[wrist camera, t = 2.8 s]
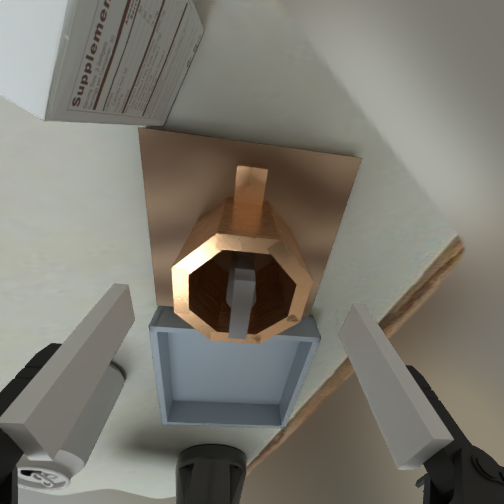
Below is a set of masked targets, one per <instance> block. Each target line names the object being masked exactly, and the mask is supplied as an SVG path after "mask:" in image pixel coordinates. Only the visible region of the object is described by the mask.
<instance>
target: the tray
mask: <svg viewBox="0 0 504 504" xmlns="http://www.w3.org/2000/svg"><path fill="white" fill-rule="evenodd" d="M149 333H150V340H151V347H152V354H153V361H154V369H155V376H156V383H157V390H158V398H159V405H160V412H161V419H162V424H168V425H197V426H227V427H256V428H285V427H286V425H287V422H288V420H289V417H290V415H291V412H292V410H293V407H294V405H295V402H296V400H297V397H298V395H299V392H300V390H301V387H302V385H303V382H304V380H305V377H306V375H307V372H308V370H309V367H310V365H311V362H312V360H313V357H314V355H315V352H316V350H317V347H318V345H319V342H320V340H321V336H320V333H319V331H318V328H317V325H316V322H315V320H314V317H313V316H309V317H303V316H302V318H301V321H300V322H299V323H297V324H295V325H294V326H292V327H290V328H288V329H286V330H284V331H282V332H281V333H279V334H277V335H275V336H273V337H271V338H269V339H268V340H266V341H264V342H262V343H260V344H252V343H237V342H222V341H211V340H209V339H208V338H207V337H205V336H204V335H203V334H202V333H200V332H199V331H198V330H196V329H195V328H194V327H192V326H191V325H190V324H188V323H187V322H186V321H185V320H183V319H182V318H181V317H179V316H178V315H177V314H175V313H174V307H172V306H158V308H157V310H156V312H155V314H154V316H153V318H152V320H151V322H150V324H149Z"/></svg>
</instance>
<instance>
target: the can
mask: <svg viewBox="0 0 504 504" xmlns="http://www.w3.org/2000/svg"><path fill="white" fill-rule="evenodd" d="M123 386H124V378H123V376H122V374H121V371H120V370H119V369H118V368H117V367H116V366H114V365H113V364H109V365H108V367H107V369H106V370H105V372H104V374H103V376H102V377H101V379H100V381H99V382H98V384H97V386H96V388H95V389H94V391H93V393H92V394H91V396H90V398H89V400H88V401H87V403H86V405H85V406H84V408H83V410H82V412H81V413H80V415H79V417H78V418H77V420H76V422H75V424H74V425H73V427H72V429H71V430H70V432H69V434H68V436H67V437H66V439H65V441H64V442H63V444H62V446H61V448H60V449H59V451H58V453H57V454H56V456H55V458H54V460H53V461H38V460H29V459H28V458H27V457H26V455H25V454H23V455H22V457H21V458H20V460H19V461H18V463H17V464H16V466H17V469H18V486H19V487H23V488H27V489H32V490H42V491H53V490H60V489H63V488H65V487H67V486H68V485H69V484H70V479H71V478H72V477H73V476H74V475H76V474H77V473H78V472H80V471H81V470H82V469H83V468H84V467H85V465H86V463H87V461H88V458H89V456H90V454H91V452H92V450H93V448H94V446H95V444H96V442H97V440H98V438H99V436H100V434H101V431H102V429H103V427H104V425H105V423H106V421H107V419H108V417H109V415H110V413H111V411H112V409H113V407H114V404H115V402H116V400H117V398H118V396H119V394H120V392H121V390H122V388H123Z"/></svg>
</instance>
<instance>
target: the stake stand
mask: <svg viewBox="0 0 504 504" xmlns="http://www.w3.org/2000/svg"><path fill="white" fill-rule="evenodd" d="M138 132H139V141H140V151H141V160H142V169H143V179H144V188H145V198H146V207H147V216H148V226H149V235H150V245H151V254H152V263H153V273H154V282H155V292H156V301H157V305H159V306H172V307H174V299H173V281H172V266H173V264H174V262H175V260H176V259H177V257H178V255H179V253H180V251H181V249H182V248H183V246H184V244H185V242H186V240H187V238H188V237H189V235H190V233H191V231H192V229H193V227H194V226H195V224H196V222H197V221H198V220H199V219H200V218H202V217H203V216H204V215H205V214H207V213H208V212H209V211H210V210H212V209H213V208H214V207H215V206H216V205H218V204H219V203H220V202H221V201H223V200H224V199H225V198H226V197H234V195H235V184H236V173H237V164H238V163H242V164H250V165H257V166H265V167H267V169H268V172H267V179H266V186H265V192H264V199H263V201H269V203H270V204H271V205H272V207H273V208H274V209H275V211H276V212H277V213H278V215H279V216H280V217H281V219H282V220H283V221H284V223H285V224H286V225H287V227H288V228H289V229H290V231H291V232H292V234H293V236H294V238H295V241H296V243H297V245H298V247H299V250H300V252H301V254H302V256H303V258H304V261H305V263H306V265H307V267H308V270H309V272H310V274H311V276H312V278H313V283H312V286H311V289H310V292H309V295H308V299H307V302H306V305H305V308H304V311H303V314H302V316H303V317H309V314H310V311H311V308H312V305H313V303H314V300H315V297H316V294H317V291H318V288H319V285H320V282H321V279H322V276H323V273H324V270H325V267H326V264H327V261H328V258H329V255H330V252H331V249H332V246H333V243H334V240H335V237H336V234H337V231H338V228H339V225H340V222H341V219H342V217H343V214H344V211H345V208H346V205H347V202H348V199H349V196H350V193H351V190H352V187H353V184H354V181H355V178H356V175H357V172H358V169H359V166H360V163H361V160H362V158H358V157H353V156H346V155H339V154H332V153H324V152H317V151H310V150H303V149H296V148H289V147H281V146H274V145H267V144H260V143H253V142H245V141H238V140H231V139H224V138H217V137H209V136H202V135H195V134H188V133H181V132H173V131H166V130H159V129H152V128H140V127H138ZM212 259H213V260H214V261H215V262H216V263H217V264H218V265H219V266H220V267H221V268H222V269H223V270H225V271H226V272H229V279H228V287H227V295H226V301H227V304H228V305H229V306H230V307H231V315H230V324H229V336H228V338H233V339H246V337H247V331H248V325H249V319H250V313H251V307H253V306H254V304H255V302H256V286H255V282H256V280H255V273H256V272H257V271H259V270H260V269H262V268H263V267H265V266H266V265H268V264H269V263H271V262H272V261H274V260H275V258H274V257H273V256H272V255H271V254H263V253H253V252H243V251H233V250H222V251H220V252H219V253H218V254H216V255H215V256H213V257H212Z"/></svg>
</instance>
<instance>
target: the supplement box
mask: <svg viewBox="0 0 504 504" xmlns="http://www.w3.org/2000/svg"><path fill="white" fill-rule="evenodd" d="M203 32H204V27H203V25H202V22H201V20H200V17H199V15H198V12H197V10H196V8H195V5H194V3H193V0H0V96H2V97H3V98H5V99H7V100H8V101H10V102H12V103H13V104H15V105H17V106H18V107H20V108H22V109H24V110H25V111H27V112H29V113H30V114H32V115H34V116H35V117H37V118H38V119H40V120H43V121H62V122H81V123H102V124H124V125H148V126H164V124H165V121H166V119H167V116H168V114H169V112H170V109H171V107H172V105H173V102H174V100H175V98H176V95H177V93H178V91H179V88H180V86H181V84H182V82H183V79H184V77H185V75H186V72H187V70H188V68H189V65H190V63H191V61H192V58H193V56H194V54H195V51H196V49H197V46H198V44H199V42H200V40H201V37H202V35H203Z"/></svg>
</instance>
